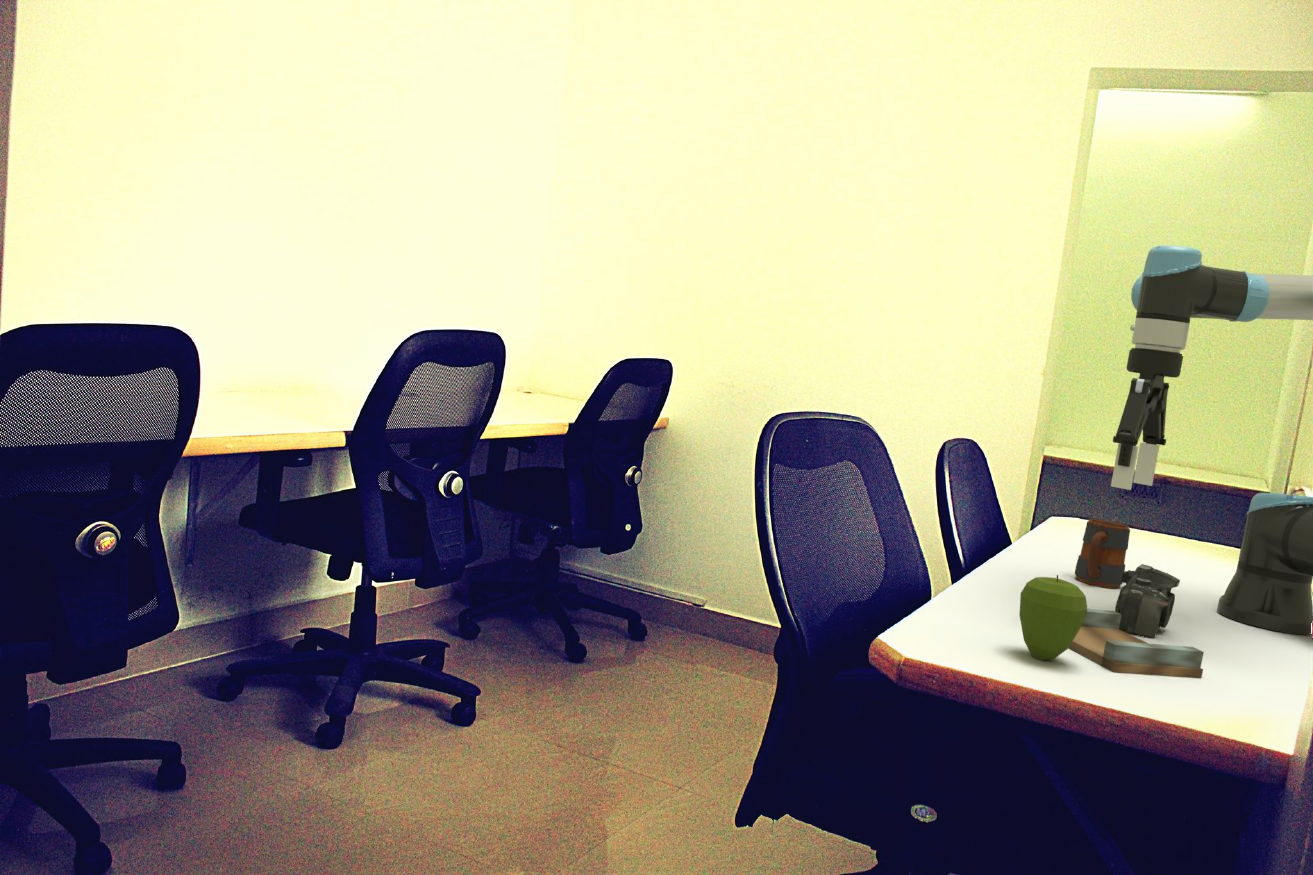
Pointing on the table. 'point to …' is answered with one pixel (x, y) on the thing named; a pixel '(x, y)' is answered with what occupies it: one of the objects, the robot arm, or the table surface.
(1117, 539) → the mug
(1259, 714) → the table surface
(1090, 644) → the stand
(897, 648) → the table surface
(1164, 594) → the camera
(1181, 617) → the table surface
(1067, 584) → the apple
